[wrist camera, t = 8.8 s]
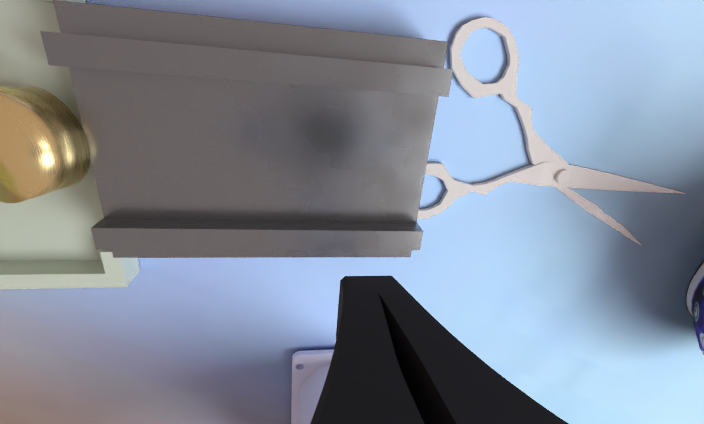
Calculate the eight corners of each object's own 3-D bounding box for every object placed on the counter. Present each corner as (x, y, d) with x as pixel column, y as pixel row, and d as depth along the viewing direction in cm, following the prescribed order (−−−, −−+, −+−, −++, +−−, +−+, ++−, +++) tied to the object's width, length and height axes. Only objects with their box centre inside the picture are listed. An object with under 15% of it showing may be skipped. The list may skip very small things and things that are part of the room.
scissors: (440, -10, 14) (736, 146, 19) (434, -7, 15) (721, 143, 20) (351, 208, 18) (620, 290, 23) (349, 203, 18) (610, 284, 24)
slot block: (400, 238, 19) (416, 267, 16) (133, 236, 17) (101, 270, 14) (430, 44, 15) (459, 40, 12) (87, 8, 13) (30, -6, 10)
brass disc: (98, 193, 14) (49, 212, 12) (18, 178, 14) (-40, 193, 13) (77, 92, 12) (16, 95, 10) (-13, 79, 13) (-85, 80, 11)
